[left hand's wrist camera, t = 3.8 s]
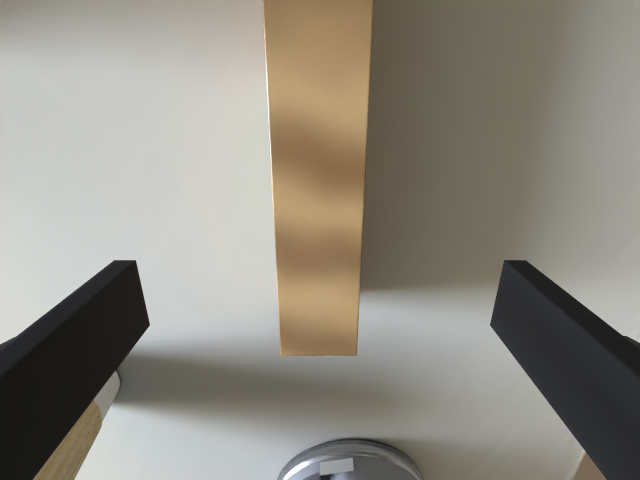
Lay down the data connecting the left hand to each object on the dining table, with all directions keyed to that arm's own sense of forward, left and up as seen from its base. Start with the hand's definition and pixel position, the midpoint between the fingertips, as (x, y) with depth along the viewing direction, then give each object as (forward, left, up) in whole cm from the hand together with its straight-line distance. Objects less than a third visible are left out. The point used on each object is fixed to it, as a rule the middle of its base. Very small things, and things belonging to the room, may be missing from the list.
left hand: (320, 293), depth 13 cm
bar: (+20, +9, -13) cm, 26 cm away
